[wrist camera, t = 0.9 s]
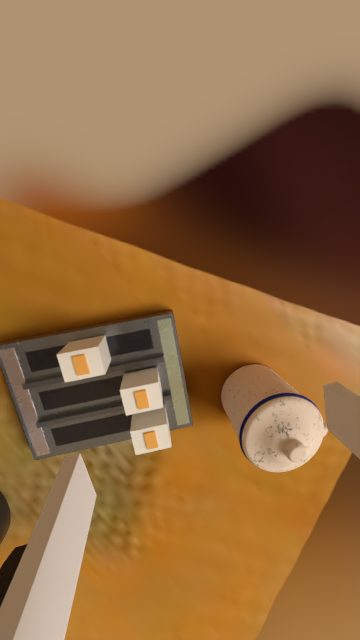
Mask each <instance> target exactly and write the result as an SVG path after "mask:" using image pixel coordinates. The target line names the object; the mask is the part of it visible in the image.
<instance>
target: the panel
mask: <svg viewBox="0 0 360 640" xmlns="http://www.w3.org/2000/svg"><path fill="white" fill-rule="evenodd" d="M103 335H105V336H106V340H107V344H108V348H109V352H110V356H111V362H110V364H109V367H108V369H107V372H106V374H105V375H100V376H95V377H90V378H85V379H80V380H75V381H70V382H65V381H64V378H63V375H62V371H61V368H60V365H59V362H58V358H57V355H56V354H57V353H59V352H60V351H61V350H62V349H63V348H64V347H65V346H66V345H67V344H68V343H69V342H71V341H77V340H82V339H87V338H92V337H98V336H103ZM0 366H1V369H2V372H3V375H4V377H5V380H6V383H7V385H8V388H9V391H10V394H11V396H12V399H13V402H14V405H15V407H16V410H17V413H18V416H19V418H20V421H21V424H22V427H23V429H24V432H25V435H26V437H27V440H28V443H29V446H30V448H31V451H32V454H33V457H34V459H35V460H38V459H43V458H47V457H52V456H56V455H61V454H65V453H70V452H75V451H79V450H84V449H88V448H93V447H97V446H102V445H106V444H111V443H115V442H120V441H125V440H129V439H132V438H131V434H130V428H131V420H132V415H127V416H126V414H125V410H124V406H123V402H122V398H121V394H120V387H121V383H122V379H123V375H124V373H129V372H134V371H139V370H144V369H149V368H154V367H157V368H158V373H159V377H160V382H161V387H162V396H163V404H165V407H166V412H167V417H168V422H169V428H170V430H175V429H179V428H184V427H188V426H193V421H192V415H191V410H190V404H189V398H188V393H187V387H186V381H185V376H184V370H183V365H182V359H181V353H180V348H179V342H178V336H177V331H176V325H175V319H174V314H173V311H172V310H168V311H163V312H158V313H152V314H147V315H142V316H136V317H131V318H126V319H120V320H115V321H109V322H104V323H99V324H93V325H88V326H83V327H77V328H72V329H67V330H61V331H56V332H51V333H45V334H40V335H34V336H29V337H24V338H18V339H13V340H8V341H3V342H1V343H0Z"/></svg>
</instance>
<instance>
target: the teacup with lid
mask: <svg viewBox="0 0 360 640" xmlns="http://www.w3.org/2000/svg"><path fill="white" fill-rule="evenodd" d="M221 401H222V405H223V408H224V410H225V412H226V414H227V416H228V418H229V420H230V422H231V424H232V426H233V428H234V430H235V432H236V434H237V436H238V438H239V441H240V446H241V449H242V452H243V453H244V455H245V456H246V458H247V459H248V460H249V461H250V462H251V463H253V464H254V465H255V466H257V467H258V468H260V469H263V470H266V471H270V472H285V471H290V470H293V469H295V468H298V467H299V466H301V465H303V464H304V463H306V462H307V461H308V460H309V459H310V458H311V457H312V456H313V455H314V454H315V453H316V451H317V450H318V448H319V447H320V444H321V442H322V439H323V436H325V435H326V434H327V431H328V429H327V424H326V423H325V422H324V421H323V419H322V416H321V414H320V411H319V410H318V408H317V407H316V405H315V404H314V403H313V402H312V401H311V400H309V399H308V398H306V397H304V396H302V395H300V394H299V393H298V392H297V391H296V390H295V389H294V388H293V387H291V386H290V385H289V384H288V383H287V382H286V381H285V380H284V379H282V378H281V377H280V376H279V375H278V374H277V373H276V372H275V371H273V370H272V369H271V368H269V367H267V366H264V365H258V364H252V365H247V366H243V367H241V368H239V369H237V370H236V371H234V372H233V373H232V374H231V375H230V376H229V377H228V378H227V380H226V381H225V383H224V385H223V388H222V392H221Z"/></svg>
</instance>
